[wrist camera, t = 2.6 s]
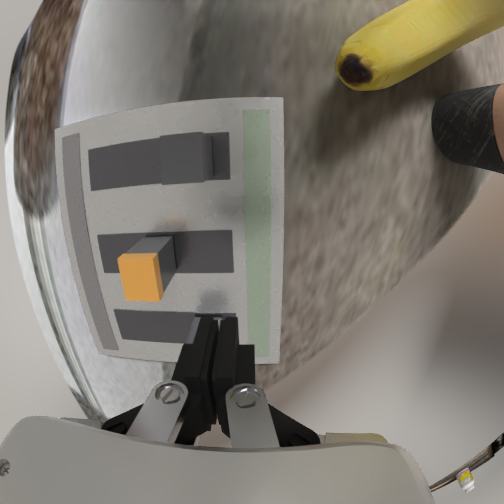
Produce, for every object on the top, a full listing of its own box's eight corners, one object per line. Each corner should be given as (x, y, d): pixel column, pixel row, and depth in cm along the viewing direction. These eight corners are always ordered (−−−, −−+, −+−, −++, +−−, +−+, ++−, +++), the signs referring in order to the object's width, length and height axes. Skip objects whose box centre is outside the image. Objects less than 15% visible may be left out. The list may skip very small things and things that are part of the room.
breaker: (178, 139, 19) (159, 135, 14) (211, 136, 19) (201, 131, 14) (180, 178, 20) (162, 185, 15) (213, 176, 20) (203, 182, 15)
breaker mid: (143, 236, 21) (117, 259, 17) (172, 235, 21) (152, 258, 17) (148, 271, 22) (126, 300, 18) (177, 271, 22) (160, 301, 18)
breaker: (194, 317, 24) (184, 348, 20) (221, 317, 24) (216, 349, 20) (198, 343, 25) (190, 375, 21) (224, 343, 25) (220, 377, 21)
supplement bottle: (466, 469, 60) (475, 487, 48) (454, 476, 61) (462, 495, 49) (469, 465, 58) (478, 484, 46) (456, 473, 59) (465, 493, 47)
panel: (63, 129, 19) (54, 129, 18) (280, 101, 19) (283, 97, 18) (104, 346, 28) (98, 354, 26) (277, 353, 28) (279, 363, 26)
